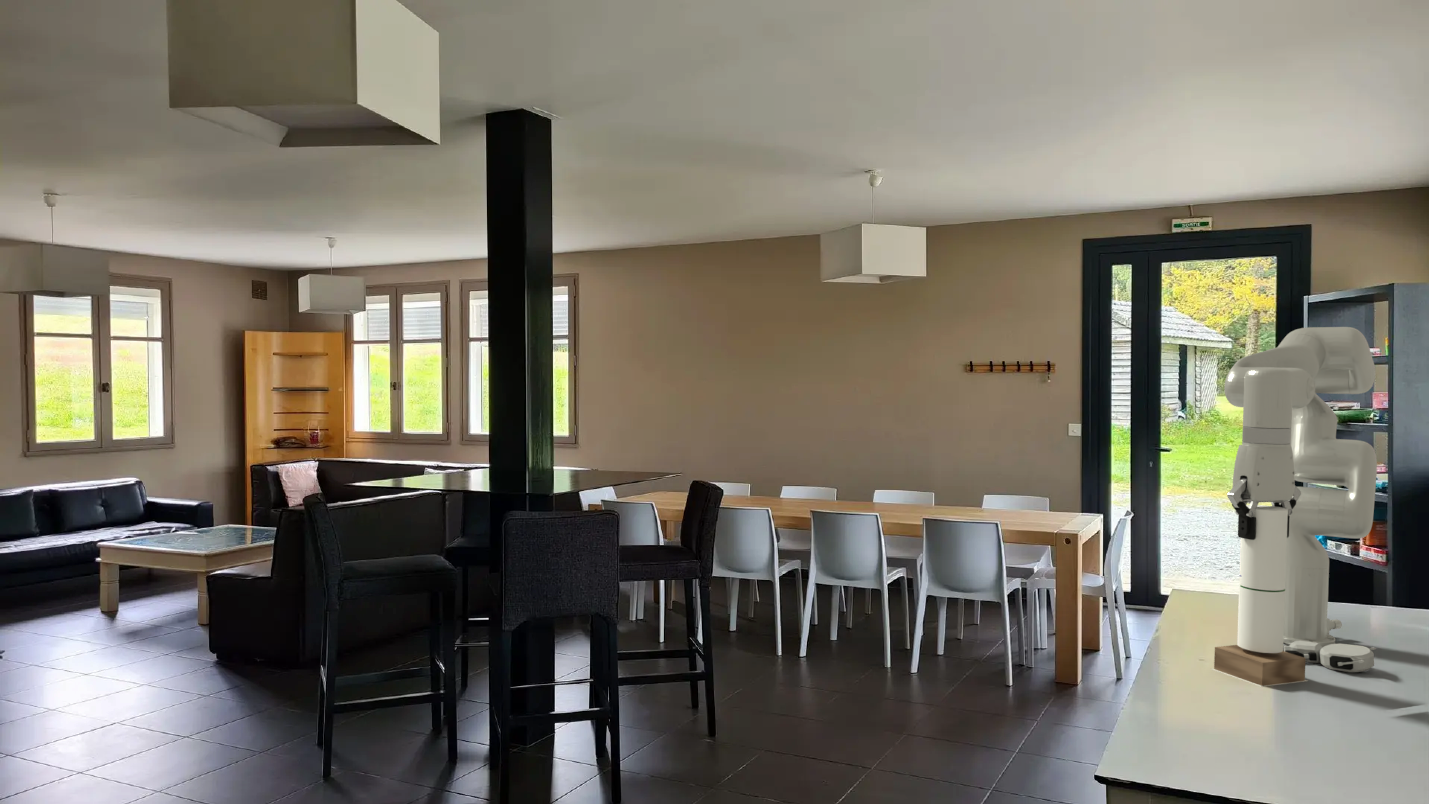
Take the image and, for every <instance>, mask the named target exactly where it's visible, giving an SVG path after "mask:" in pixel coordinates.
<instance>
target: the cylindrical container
mask: <svg viewBox="0 0 1429 804" xmlns="http://www.w3.org/2000/svg"><path fill="white" fill-rule="evenodd" d="M1249 505H1250V504H1247V505H1246V506H1247V507H1249ZM1253 517H1256V538H1255V539H1254V540H1250V539H1245V538H1240V541H1239V542H1240V546H1239V547H1240V548H1239V573H1238V574H1239V576H1238V577H1239V580H1238V608H1237V644H1236V645H1238V646H1239V647H1241V648H1243V649H1247V650H1251V651H1255V652H1263V653H1280V652H1282V651H1283V645H1284V643H1283V640H1284V609H1285V578H1286V548H1287V518H1288V509H1286V508H1282V507H1275V506H1272V505H1264V504H1263V505H1261V504H1258V506H1257V508H1256V510H1255V513H1254V515H1253Z"/></svg>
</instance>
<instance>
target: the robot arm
mask: <svg viewBox="0 0 1429 804" xmlns="http://www.w3.org/2000/svg"><path fill="white" fill-rule="evenodd" d="M1372 356H1373V355H1372V353H1371V349H1370V346H1369V342H1368V341H1367V338H1366V337H1365V335H1364V334H1363V333H1362V332H1361V331H1360V330H1359V329H1357V328H1355V327H1350V326H1325V327H1323V326H1322V327H1321V326H1319V327H1318V326H1317V327H1313V326H1311V327H1309V326H1308V327H1301V328H1297V329H1294V330H1292V331H1290V332H1289V333H1287V334H1286V336H1285V337H1284V338H1283V339H1282V340H1281V342H1279V344H1278V346H1277V347H1274V348H1269V349H1266V350H1264V351H1259V352H1256V353H1253V354H1250V355H1245V356H1244V357H1242V358H1240V359H1238V360H1237V361H1236V362H1235V363H1234V365H1233V366H1232V367H1231V369H1230V370H1229V371H1228V374H1227V375H1226V377H1225V380H1224V387H1223V388H1224V389H1223V390H1224V394H1225V398H1226V400H1227V401H1228V403H1230V405H1232V406H1234V407H1237V408H1243V409H1242V410H1243V411H1242V413H1243V415H1242V434H1241V435H1242V437H1241V438H1242V440H1241V441H1242V442H1241V444H1239V445H1238V447H1237V448H1238V449H1237V452H1236V456H1235V461H1234V467H1233V477H1232V488H1231V489H1230V490H1229V491H1228V493H1227V494H1226V495H1227V498H1228V500H1229V501H1230V503H1231V506H1232V508H1233V509H1234V510H1235V515H1236V516H1238V517H1237V518H1238V519H1237V521H1238V522H1237V537H1238V538H1240V539H1241V538H1245V539H1250V540H1254V539H1255V538H1256V517H1253V515H1254V513H1255V510H1256V508H1257V506H1258V505H1259V503H1270V504H1271V506H1275V507H1282V508H1286V509H1288V518H1287V548H1286V578H1285V609H1284V640H1283V644H1286V643H1293V642H1295V641H1307V642H1314V643H1319V644H1320V645H1321V646H1322V648H1323V647H1324V646H1327V645H1330V644H1336V639H1337V638H1336V637H1335V636H1333V635H1331V634H1330V631H1331V630H1338V629H1342V627H1343V624H1342V621H1341V620H1340V619H1337V618H1336V619H1330V618H1328V609H1329V608H1328V607H1329V606H1328V605H1329V578H1330V574H1329V573H1330V558H1329V554H1328V552H1327V550H1326V549H1325V547H1324V546H1323V544H1322V543H1321V542H1320V541H1319V540H1318V538H1317V537H1316V536H1319V537H1320V536H1324V537H1325V536H1326V537H1336V538H1343V539H1344V538H1345V539H1363V538H1365V537H1367V536H1368V535H1369V534H1370V532H1371V530H1372V527H1373V522H1374V514H1375V513H1374V510H1375V501H1376V488H1377V487H1376V486H1377V473H1378V459H1377V454H1376V451H1375V449H1374V447H1373V446H1372V445H1371V444H1370V443H1368V442H1367V441H1363V440H1359V439H1346V438H1343V439H1342V438H1341V439H1340V438H1337V426H1338V417H1337V415H1336V413H1335V412H1334V411H1333V409H1332V408H1331V407H1330V406H1329V405H1328V404H1327V402H1325V400H1323V399H1322V398H1321V397H1320V396H1319V395H1318V394H1331V395H1332V394H1334V395H1335V394H1336V395H1361V394H1365V393H1367V392H1368V391H1370V390H1371V389H1372V388H1373V385H1374V383H1375V380H1376V379H1375V378H1376V367H1375V362H1374V359H1373V357H1372ZM1295 482H1301V483H1305V484H1306V483H1307V484H1308V483H1309V484H1318V485H1329V486H1330V485H1331V486H1342V487H1343V486H1344V487H1346V489H1348V490H1344V489H1332V488H1324V487H1309V486H1308V487H1307V486H1296V485H1295V484H1296V483H1295ZM1246 505H1249V507H1247V506H1246Z"/></svg>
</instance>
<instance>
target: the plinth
mask: <svg viewBox="0 0 1429 804" xmlns="http://www.w3.org/2000/svg"><path fill="white" fill-rule="evenodd" d="M1305 659H1306V658H1304V657H1301V656H1297V655H1294V654H1291V653H1288V652H1284V651H1282V652H1280V653H1263V652H1255V651H1251V650H1247V649H1243V648H1241V647H1239V646H1238V645H1237V644H1233V645H1231V644H1230V645H1223V646H1222V645H1221V646H1215V647H1214V660H1213V661H1214V662H1213V664H1214V665H1213V669H1216V670H1218V671H1221V672H1224V673H1227V674H1230V675H1233V676H1235V677H1238V678H1241V679H1244V680H1247V681H1250V682H1252V683H1255V684H1258V685H1261V686H1263V687H1266V686H1265V685H1272V686H1274V685H1273V684H1280V685H1283V684H1282V683H1288V684H1291V683H1290V682H1296V683H1299V682H1298V681H1304V682H1306V681H1305V680H1306V662H1305Z"/></svg>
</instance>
